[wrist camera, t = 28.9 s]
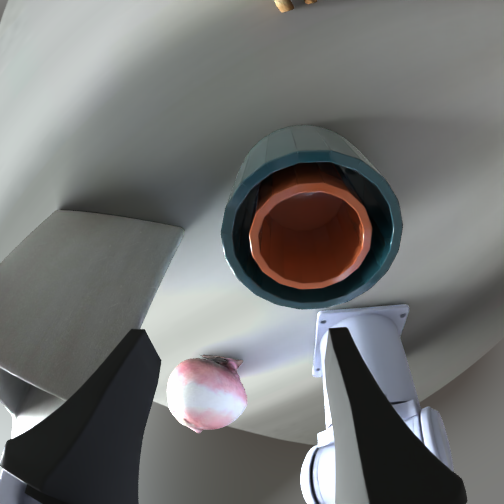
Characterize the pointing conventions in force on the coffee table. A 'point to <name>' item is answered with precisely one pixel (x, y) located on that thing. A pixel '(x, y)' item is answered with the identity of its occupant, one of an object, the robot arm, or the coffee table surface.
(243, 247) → the base cup
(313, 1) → the figurine
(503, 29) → the coffee table surface
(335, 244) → the cup
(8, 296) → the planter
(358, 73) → the coffee table surface
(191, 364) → the onion
